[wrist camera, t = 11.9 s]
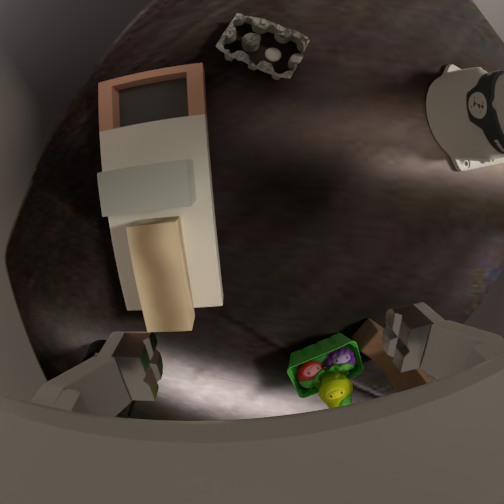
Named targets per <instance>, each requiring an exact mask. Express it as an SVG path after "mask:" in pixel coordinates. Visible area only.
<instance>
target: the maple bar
mask: <svg viewBox="0 0 504 504" xmlns="http://www.w3.org/2000/svg"><path fill="white" fill-rule="evenodd" d="M126 232H127V238H128V244H129V249H130V255H131V260H132V265H133V271H134V275H135V280H136V285H137V290H138V294H139V299H140V303H141V307H142V311H143V315H144V319H145V323H146V327H147V331H148V332H167V331H191V330H192V327H193V323H194V318H195V311H194V305H193V299H192V293H191V287H190V280H189V273H188V266H187V259H186V252H185V245H184V237H183V229H182V220H181V215H180V216H170V217H161V218H152V219H143V220H136V221H134V222H133V223H131V224H130V225H128V226H127V227H126Z"/></svg>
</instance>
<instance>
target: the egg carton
mask: <svg viewBox="0 0 504 504" xmlns="http://www.w3.org/2000/svg"><path fill="white" fill-rule="evenodd" d="M245 23H248V24H251V25H252V30H253V32H255V33H257V34H254V33H248V34H245V35H244V36H243V38H242V48H243V50H244V51H246V52H254V51H256V50H257V49H258V47H259V44H260V40H261V36H260V35H259V34H264V33H266V32H270V33H274V34H275V35H274V37H275V39H276V41H277V42H279V43H287V42H289V41H292V42H295V43H296V44H297V49H298V50H299V51H300V52H301V54H300V53H295V54H293V55H292V56H291V57H290V59H289V61H288V67H289V69H290V70H291V71H286V72H284V73H282V74H278V73H276V72H274V68H273V65H271V64H270V63H268V62H266V61H265V60H264V61H261V62H259V63H258V64H257V66H256V65H255V63H253V62H251V60H250V59H249V55H248V54H246V53H245V52H244V51H238V50H237V51H236V52H234V53H232V54H231V53H230V51H229V49H225V48H224V46H223V45H225V44H230V43H233V42H234V41H235V40H236V32H237V31H236V27H235V26H242V25H243V24H245ZM309 41H310V38H309V37H307V36H305V35H304V34H302V33H299V32H297V31H295V30H292V29H286V28H284V27H282V26H281V25H279V24H274V23H272V22H269V21H267V20H265V19H261V18H257V17H251V16H244V15H243V14H240V13H237V14H236V15H235V17H234V19H233V20H232V21H231V22H230V24H229V26H228V27H227V28H226V30H225V32H224V33H223V34H222V36H221V38H220V40H219V41H218V43H217V45H216V47H217V48H218V49H219V50H220V51H222V52H223V53H225V59H226V60H228V61H232V60H233V59H236V60H238V61H243V62H245V63H246V64H248V68H249V69H252V70H256V69H259V70H261V71H263V72H265V73H268V74H271V75H272V78H273V79H275V80H279V79H280V78H288V79H290V78H291V77H292V74H293V72H294V71H295V69H296V68H297V65H298V63H300V62H301V60H302V58H303V53H304V51H305V49H306V47H307V45H308V43H309ZM265 57H266V58H267V59H268V60H269V61H273V62H275V61H278V60H280V59H281V52H280V50H278V49H277V48H269V49H267V50H266V51H265ZM249 62H251V63H249Z"/></svg>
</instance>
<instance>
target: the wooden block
mask: <svg viewBox="0 0 504 504" xmlns="http://www.w3.org/2000/svg"><path fill="white" fill-rule="evenodd" d="M383 330H384V328H383V327H381V326H380V325H378V324H377V323H375V322H374V321H373V320H371V319H369V318H368V319H367V320H366V321H365V322H364V323H363V324H362V326H361V327H360V328H359V329H358V330H357V331H356V332H355V334H354V335H353V336H352V339H353V340H354V341H355V342H356V343H357V346H358V348H359V350H360V351H361V352H362V353H363V354H365V355H366V356H368V357H369V358H371V359H372V360H373V361H374V362H375V363H376V364H377V365H378V366H379V367H380V368H381V369H382V371H383V372H384V373H385V374H386V376H387V377H388V379H389V380H390V382H391V384H392V385H393V387H394V388H395V390H396V391H397V393H398V392H401V391H404V390H408V389H411V388H414V387H417V386H421V385H424V384H427V383H430V382H432V380H431V379H430V378H429V376H428V375H427V374H426V373H425V371H423V370H421V369H420V368H417V369H413V370H409V371H405V372H401V373H400V371H399V370H398V369H397V367H396V366H395V364H394V363H393V358H394V357H392V356H389V355H387V353H386V352H385V350H384V348H383V343H382V335H383Z"/></svg>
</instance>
